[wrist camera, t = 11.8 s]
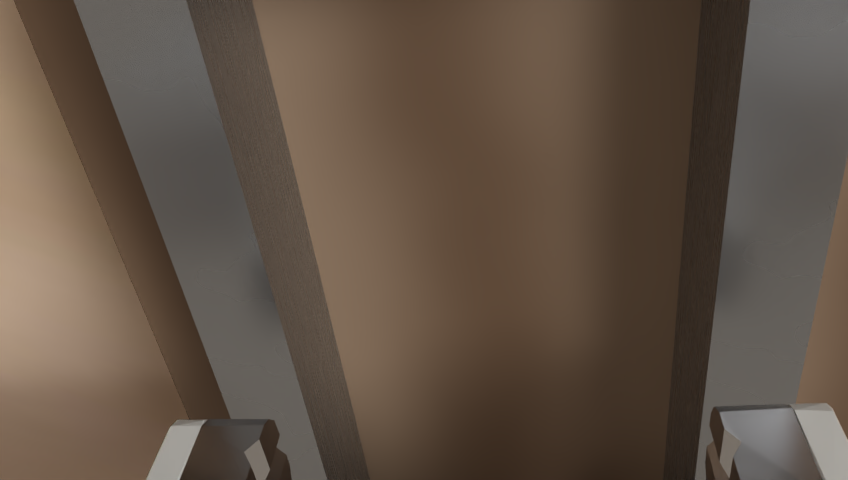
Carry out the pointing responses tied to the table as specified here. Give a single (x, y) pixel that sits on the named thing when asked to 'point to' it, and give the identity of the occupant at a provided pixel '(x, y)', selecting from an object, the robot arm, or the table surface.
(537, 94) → the hinge cabinet
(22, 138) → the table surface
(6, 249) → the table surface
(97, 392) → the table surface
